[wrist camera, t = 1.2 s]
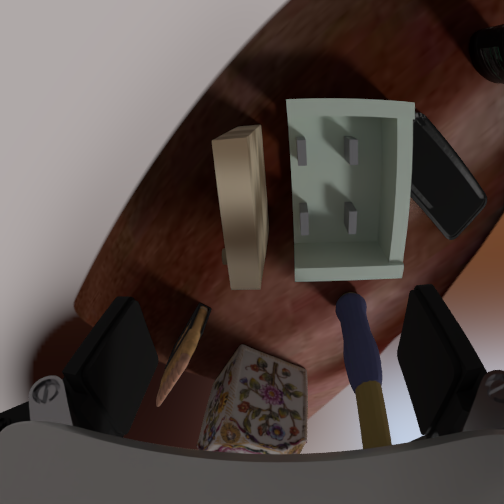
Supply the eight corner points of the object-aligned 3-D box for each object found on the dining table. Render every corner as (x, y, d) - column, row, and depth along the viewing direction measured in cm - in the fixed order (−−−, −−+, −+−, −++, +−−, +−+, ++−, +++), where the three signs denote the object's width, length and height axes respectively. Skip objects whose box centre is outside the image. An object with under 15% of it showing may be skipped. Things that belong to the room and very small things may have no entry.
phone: (419, 108, 27) (490, 200, 30) (415, 108, 28) (485, 197, 31) (373, 159, 30) (450, 244, 33) (370, 157, 31) (446, 240, 34)
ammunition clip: (199, 302, 42) (173, 366, 31) (212, 308, 42) (189, 374, 32) (173, 346, 47) (149, 406, 36) (184, 351, 47) (161, 412, 36)
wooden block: (228, 127, 31) (197, 142, 21) (261, 124, 31) (246, 137, 20) (239, 231, 37) (219, 289, 26) (269, 230, 36) (260, 289, 26)
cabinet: (286, 99, 29) (286, 99, 23) (390, 101, 28) (414, 102, 22) (294, 249, 37) (294, 281, 31) (384, 247, 35) (401, 277, 29)
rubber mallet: (332, 340, 43) (345, 553, 16) (295, 312, 41) (285, 549, 15) (401, 286, 38) (480, 509, 11) (366, 250, 36) (448, 509, 9)
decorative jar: (309, 368, 46) (310, 472, 30) (273, 404, 51) (264, 494, 35) (239, 340, 44) (216, 448, 29) (211, 381, 50) (186, 473, 34)
